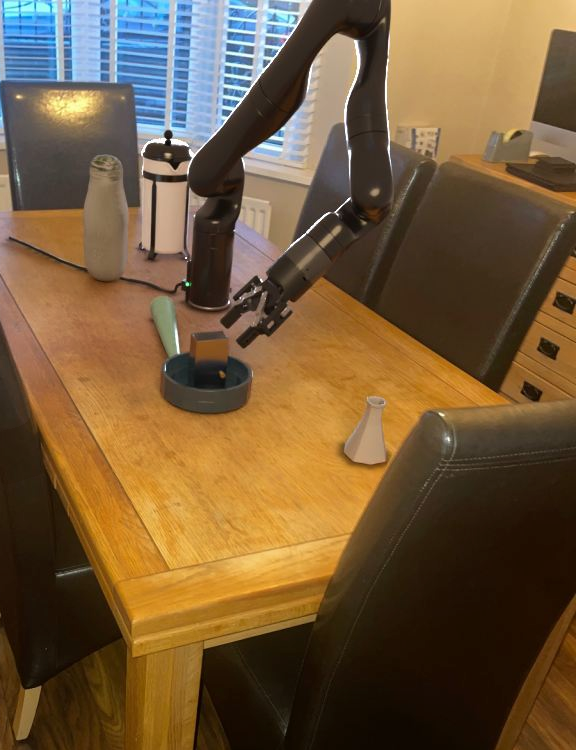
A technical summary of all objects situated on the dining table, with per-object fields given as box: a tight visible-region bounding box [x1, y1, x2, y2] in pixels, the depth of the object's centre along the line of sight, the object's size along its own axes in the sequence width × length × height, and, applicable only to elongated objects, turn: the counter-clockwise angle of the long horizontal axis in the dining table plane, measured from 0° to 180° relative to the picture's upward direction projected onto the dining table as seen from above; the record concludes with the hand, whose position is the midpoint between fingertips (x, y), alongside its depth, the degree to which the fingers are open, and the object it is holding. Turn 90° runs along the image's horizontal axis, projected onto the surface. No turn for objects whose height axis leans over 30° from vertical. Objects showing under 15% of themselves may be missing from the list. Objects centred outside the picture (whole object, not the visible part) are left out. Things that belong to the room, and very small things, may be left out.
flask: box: [343, 395, 387, 465], centre depth 127 cm, size 7×7×10 cm
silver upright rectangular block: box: [186, 330, 230, 390], centre depth 140 cm, size 6×5×11 cm
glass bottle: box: [82, 154, 130, 282], centre depth 181 cm, size 10×10×28 cm
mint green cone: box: [149, 295, 181, 358], centre depth 159 cm, size 5×6×27 cm
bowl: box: [160, 350, 254, 415], centre depth 143 cm, size 16×16×5 cm
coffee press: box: [138, 129, 195, 261], centre depth 200 cm, size 17×16×30 cm
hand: (231, 335), depth 139 cm, fingers open, 8 cm apart
